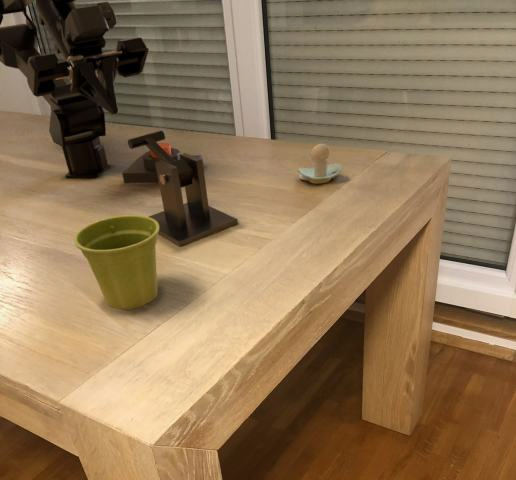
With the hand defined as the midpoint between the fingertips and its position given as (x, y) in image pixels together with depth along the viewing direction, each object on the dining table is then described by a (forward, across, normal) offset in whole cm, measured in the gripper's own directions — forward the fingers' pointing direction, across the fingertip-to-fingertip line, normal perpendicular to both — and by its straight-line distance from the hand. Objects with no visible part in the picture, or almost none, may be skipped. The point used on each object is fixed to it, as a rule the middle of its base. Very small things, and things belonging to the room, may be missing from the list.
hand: (115, 112), depth 87 cm
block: (+6, +9, +13) cm, 17 cm away
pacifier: (+22, +26, -3) cm, 34 cm away
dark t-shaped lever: (+13, 0, -6) cm, 14 cm away
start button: (+4, +9, +10) cm, 14 cm away
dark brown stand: (+22, 0, -3) cm, 22 cm away
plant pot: (+31, -16, -11) cm, 36 cm away
